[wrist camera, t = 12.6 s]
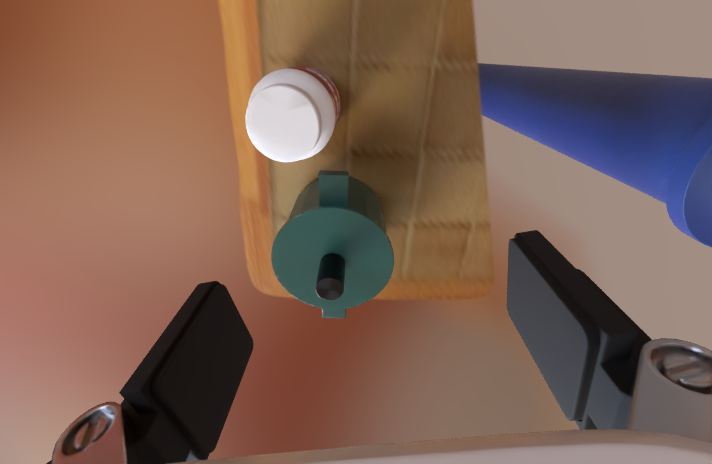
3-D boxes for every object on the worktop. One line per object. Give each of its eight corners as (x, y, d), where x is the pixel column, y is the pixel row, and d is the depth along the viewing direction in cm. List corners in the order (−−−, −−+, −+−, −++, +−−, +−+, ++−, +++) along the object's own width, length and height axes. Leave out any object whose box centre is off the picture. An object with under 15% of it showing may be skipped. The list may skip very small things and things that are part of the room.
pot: (387, 150, 31) (396, 179, 24) (377, 273, 39) (382, 324, 32) (289, 147, 31) (268, 175, 24) (298, 271, 39) (284, 321, 31)
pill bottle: (352, 117, 30) (350, 147, 20) (298, 148, 31) (271, 189, 22) (318, 51, 27) (297, 48, 18) (260, 87, 29) (211, 104, 19)
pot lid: (398, 204, 26) (405, 231, 22) (387, 303, 31) (392, 339, 27) (268, 200, 26) (251, 227, 22) (279, 300, 31) (267, 336, 27)
